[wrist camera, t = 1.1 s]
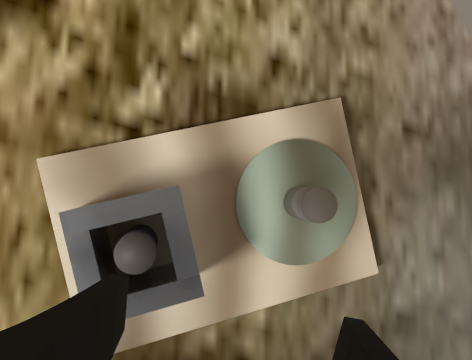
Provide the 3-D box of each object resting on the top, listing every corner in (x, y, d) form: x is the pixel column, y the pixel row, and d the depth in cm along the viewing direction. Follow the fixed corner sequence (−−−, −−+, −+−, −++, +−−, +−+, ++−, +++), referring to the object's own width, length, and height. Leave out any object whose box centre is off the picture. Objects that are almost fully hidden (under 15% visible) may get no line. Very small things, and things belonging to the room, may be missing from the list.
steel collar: (103, 300, 22) (86, 330, 17) (80, 206, 21) (58, 212, 17) (197, 274, 23) (204, 296, 18) (176, 184, 22) (178, 185, 18)
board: (89, 354, 22) (64, 408, 17) (42, 159, 22) (1, 152, 17) (370, 269, 26) (424, 292, 20) (333, 100, 25) (378, 78, 20)
